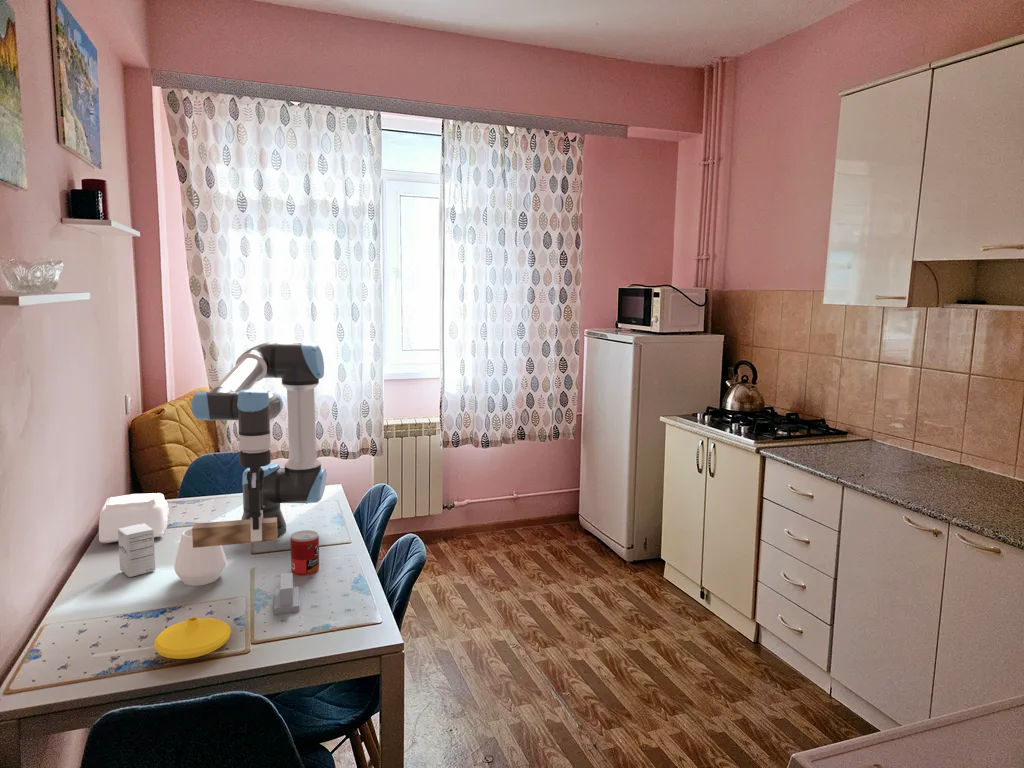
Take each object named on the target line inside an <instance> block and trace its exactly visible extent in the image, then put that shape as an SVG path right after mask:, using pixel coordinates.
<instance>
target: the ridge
mask: <svg viewBox="0 0 1024 768" xmlns="http://www.w3.org/2000/svg"><path fill="white" fill-rule="evenodd" d="M293 575H294V574H293V573H292V572H286V573H280V584H279V585H280V588H275V589H274V606H273V607H274V608H273V609H274V610H273V611H274V614H273V615H279V614H282V615H283V614H289V613H296V612H300V587H299V586H297V585H296V586H294V581H293V580H294V579H293V578H294V577H293Z"/></svg>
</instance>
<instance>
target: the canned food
mask: <svg viewBox="0 0 1024 768" xmlns="http://www.w3.org/2000/svg"><path fill="white" fill-rule="evenodd" d="M319 535H320V534H319V533H318V531H315V530H298V531H296V532H293V533H291V534H290V569H291V573H293V575H297V576H309V575H312V574H315V573H317V572H318V571H319V569H320V539H319V537H320V536H319Z"/></svg>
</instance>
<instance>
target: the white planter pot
mask: <svg viewBox="0 0 1024 768" xmlns="http://www.w3.org/2000/svg"><path fill="white" fill-rule="evenodd" d="M192 528H193V527H191V528H188V529H186V530H184V531H182V533H181V537H180V541H179V545H178V549H177V554H176V556H175V562H174V567H173V569H174V572H175V574H176V575H177V577H178V578H179V579H180V580H181V581H182V583H184V585H187V586H193V587H195V586H196V587H199V586H204V585H209V584H211V583H212V584H213V583H214V582H216V581H217V580H218V579H219V578H220V576H221V574H222V573H223V571H224V570H225V568H226V565H227V562H228V561H227V557H226V553H225V550H224V548H223V545H220V546H208V547H196V548H193V538H192Z"/></svg>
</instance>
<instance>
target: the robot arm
mask: <svg viewBox="0 0 1024 768" xmlns="http://www.w3.org/2000/svg"><path fill="white" fill-rule="evenodd" d="M324 375H325V362H324V356H323V353H322V350H321V348H320V347H319V344H317V343H315V342H313V343H312V342H305V341H303V342H302V341H298V342H297V341H288V342H286V341H284V342H282V341H281V342H280V341H279V342H277V341H268V342H264V343H261V344H258V345H256V346H255V345H254V346H253V347H251V348H249V349H247V350H246V351H244V352H243V353H242V354H241V355H240V356H238V358H237V360H236V361H235V365H234V367H233V368H232V369H231V370H230V371H229V372H228V373H227V374H226V375H225V376H224V377H223V378H222V379H221V380H220V381H219V383H218V384H217V385H215V387H213V388H212V390H211V391H199V392H196V393H194V395H193V397H192V400H191V412H192V415H193V417H194V418H195V419H196V420H198V421H199V420H200V421H238V423H237V424H238V437H236V440H235V441H236V442H238V444H239V445H238V448H239V450H240V451H239V452H238V453H239V455H238V458H239V465H240V467H243V468H246V469H244V471H243V473H242V482H241V485H242V505H243V506H242V508H243V510H242V511H243V513H242V516H241V519H240V520H248V519H250V531H251V542H252V541H262V518H275V517H277V532H278V536H277V538H278V537H281V536H282V534H283V535H285V534H286V532H287V523H286V520H285V517H284V515H283V512H282V510H281V504H306V505H307V504H315V503H319V502H320V501H321V500H322V499H323V496H324V492H325V490H326V483H327V473H328V472H327V469H326V468H324V467H322V462H321V460H319V459H318V458H317V447H316V446H317V445H316V442H317V441H316V439H317V438H316V410H315V409H316V404H315V401H316V400H315V399H316V398H315V388H316V387H317V386H318V385H319V383H320V381H319V380H321V379H323V378H324ZM267 378H268V379H272V378H275V379H281V385H282V386H283V387H284V388H285V389H286V398H287V399H286V400H287V401H286V402H287V405H286V406H287V430H288V432H287V434H288V458H289V459H288V460H287V461H286V462H285V463H284V467H283V468H281V466H280V463H278V462H271V461H272V459H271V457H272V455H271V450H270V448H271V430H270V429H271V428H270V427H271V423H270V422H271V421H270V420H272V419H274V418H275V419H276V417H278V415H279V414H280V413H281V412H282V411H283V406H284V402H283V399H282V397H281V396H280V394H278V393H277V392H276V391H272V390H266V389H260V388H253V389H252V387H253V386H254V385H255V384H256V382H259V381H261V380H263V379H267ZM280 535H281V536H280Z"/></svg>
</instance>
